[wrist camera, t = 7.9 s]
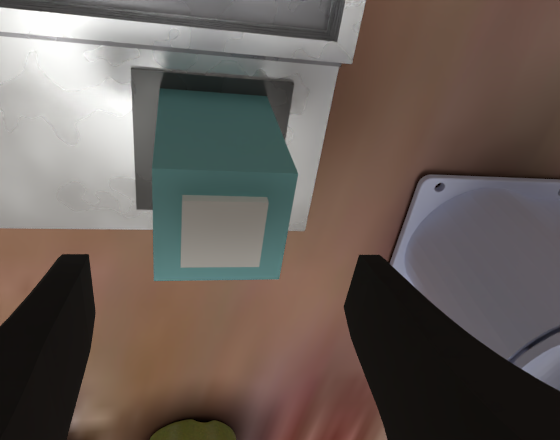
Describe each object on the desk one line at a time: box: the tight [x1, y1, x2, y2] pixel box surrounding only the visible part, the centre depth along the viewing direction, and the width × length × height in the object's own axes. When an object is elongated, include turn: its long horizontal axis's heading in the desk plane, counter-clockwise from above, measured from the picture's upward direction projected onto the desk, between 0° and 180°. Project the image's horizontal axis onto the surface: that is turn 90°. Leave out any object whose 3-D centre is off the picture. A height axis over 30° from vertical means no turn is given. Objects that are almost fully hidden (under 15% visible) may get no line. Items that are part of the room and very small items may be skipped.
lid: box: [0, 32, 341, 231], centre depth 19 cm, size 13×8×1 cm, turn 82°
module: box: [152, 88, 298, 281], centre depth 16 cm, size 4×4×6 cm
